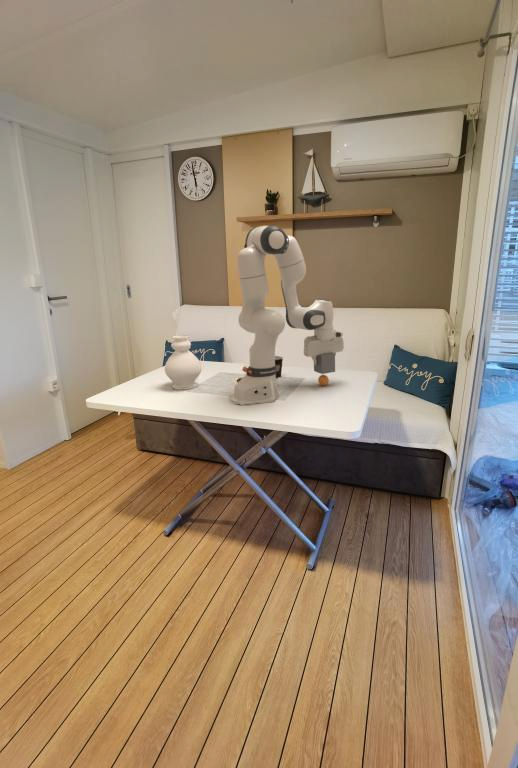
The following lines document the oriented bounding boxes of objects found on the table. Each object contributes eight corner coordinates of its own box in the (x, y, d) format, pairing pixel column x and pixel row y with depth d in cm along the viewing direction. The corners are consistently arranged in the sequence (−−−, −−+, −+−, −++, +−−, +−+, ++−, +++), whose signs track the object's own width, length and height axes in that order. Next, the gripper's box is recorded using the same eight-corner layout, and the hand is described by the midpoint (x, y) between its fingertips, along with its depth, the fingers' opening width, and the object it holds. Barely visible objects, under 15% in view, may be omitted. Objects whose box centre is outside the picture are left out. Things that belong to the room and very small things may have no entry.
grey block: (322, 374, 190) (321, 355, 188) (314, 370, 196) (313, 353, 194) (335, 371, 193) (335, 353, 190) (326, 368, 199) (326, 350, 197)
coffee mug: (283, 374, 219) (283, 355, 216) (282, 378, 210) (282, 359, 208) (261, 374, 220) (261, 356, 217) (260, 378, 212) (259, 359, 209)
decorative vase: (163, 392, 195) (158, 340, 188) (170, 381, 212) (165, 334, 205) (201, 390, 196) (196, 338, 188) (204, 380, 213) (200, 332, 206)
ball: (315, 376, 198) (317, 386, 197) (320, 374, 193) (322, 385, 193) (324, 375, 200) (326, 385, 199) (329, 373, 195) (331, 383, 194)
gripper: (307, 338, 183) (308, 367, 187) (345, 332, 191) (345, 361, 195) (300, 336, 189) (301, 365, 193) (337, 330, 197) (337, 358, 201)
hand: (323, 363), depth 194 cm, fingers closed on grey block, 7 cm apart
